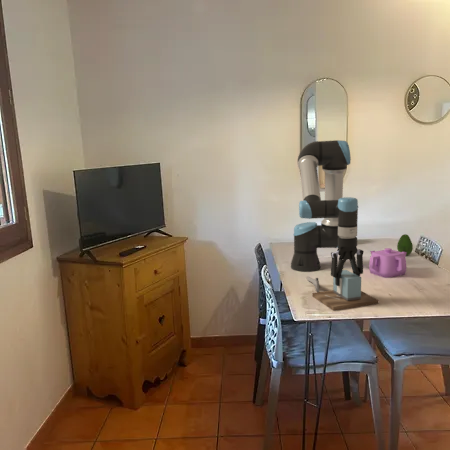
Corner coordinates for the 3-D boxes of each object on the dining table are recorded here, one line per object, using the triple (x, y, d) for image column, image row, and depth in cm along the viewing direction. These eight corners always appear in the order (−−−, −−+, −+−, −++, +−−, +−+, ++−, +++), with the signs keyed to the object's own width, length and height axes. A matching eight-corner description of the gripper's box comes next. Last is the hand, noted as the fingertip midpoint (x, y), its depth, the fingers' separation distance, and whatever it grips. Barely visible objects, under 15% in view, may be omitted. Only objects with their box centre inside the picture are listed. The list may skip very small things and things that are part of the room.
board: (312, 296, 180) (312, 293, 180) (354, 290, 186) (354, 287, 185) (333, 310, 164) (333, 306, 164) (378, 303, 170) (378, 299, 169)
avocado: (405, 253, 244) (406, 232, 242) (415, 256, 237) (416, 234, 235) (393, 254, 242) (394, 233, 240) (403, 257, 234) (404, 236, 232)
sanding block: (333, 292, 179) (333, 271, 178) (346, 290, 181) (346, 269, 179) (347, 300, 169) (347, 278, 167) (360, 298, 171) (361, 277, 169)
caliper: (319, 292, 185) (319, 278, 184) (316, 292, 185) (316, 278, 184) (308, 278, 206) (308, 266, 204) (305, 278, 205) (305, 266, 204)
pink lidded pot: (368, 277, 204) (369, 251, 201) (369, 267, 219) (370, 243, 217) (407, 279, 198) (408, 253, 195) (405, 269, 213) (406, 245, 211)
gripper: (330, 240, 165) (330, 297, 169) (373, 236, 169) (372, 291, 174) (321, 236, 172) (321, 292, 176) (363, 232, 177) (362, 286, 181)
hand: (346, 291), depth 175 cm, fingers closed on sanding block, 6 cm apart
